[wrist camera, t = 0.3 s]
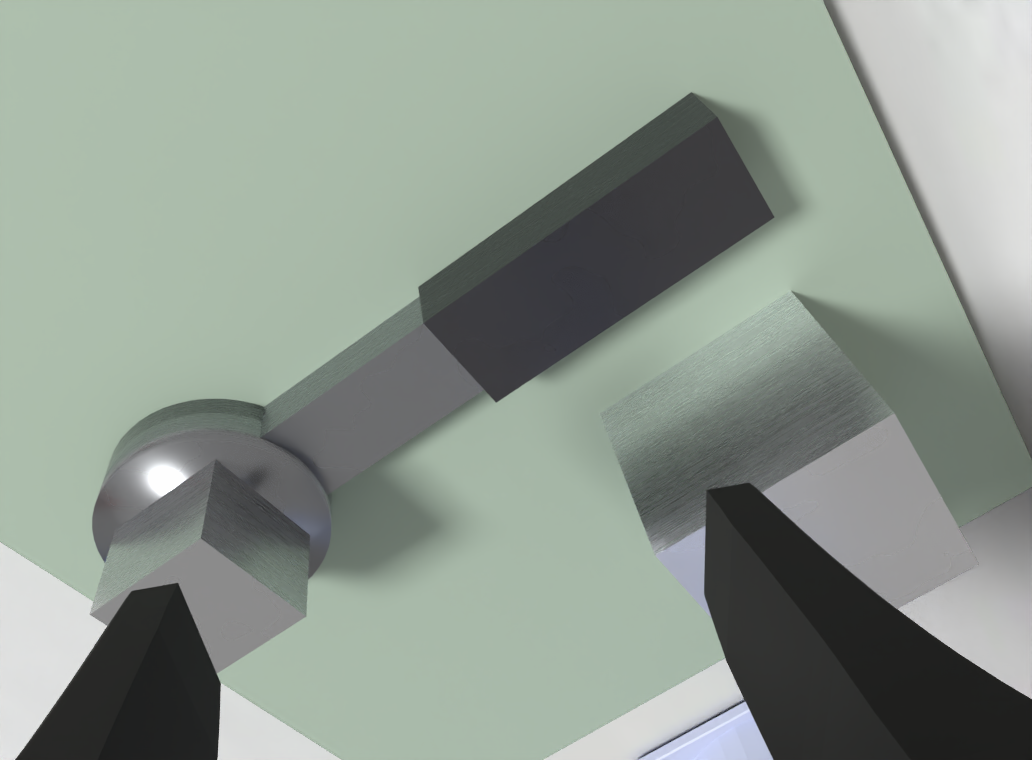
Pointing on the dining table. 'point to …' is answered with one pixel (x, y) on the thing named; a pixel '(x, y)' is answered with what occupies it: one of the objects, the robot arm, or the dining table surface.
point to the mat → (394, 284)
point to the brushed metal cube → (785, 456)
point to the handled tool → (407, 381)
